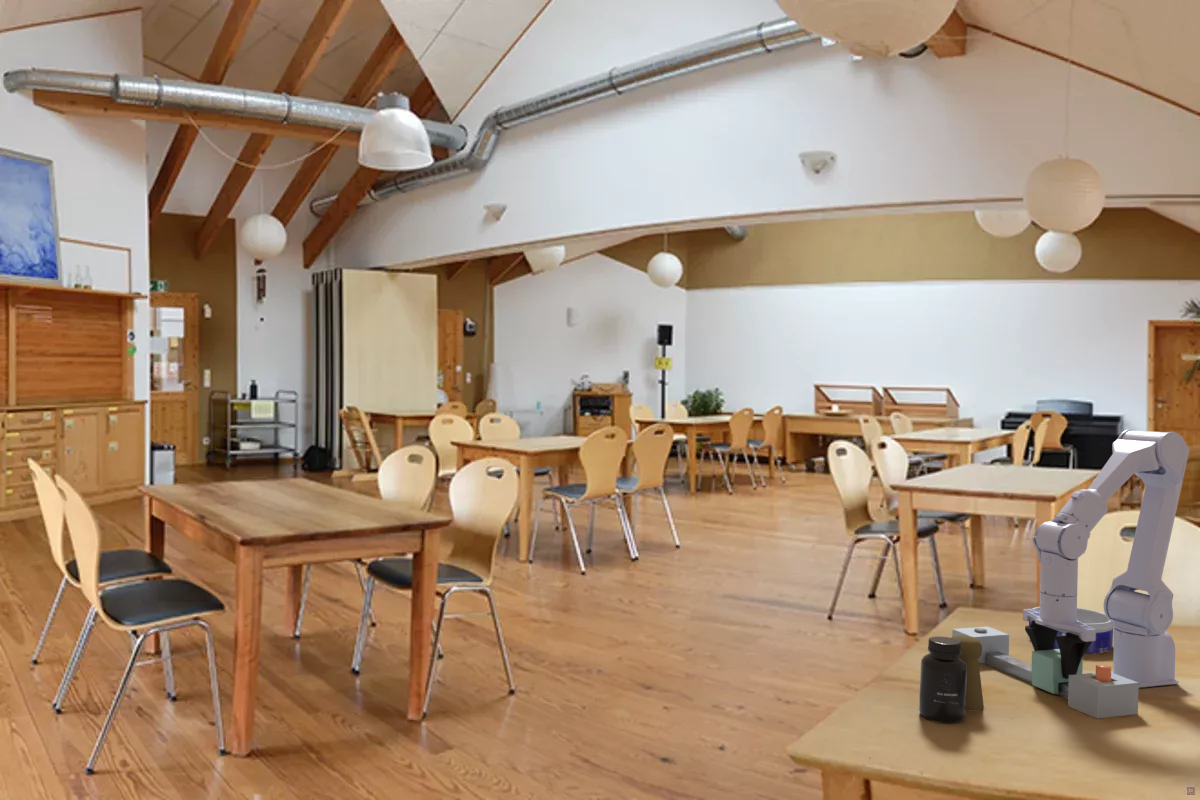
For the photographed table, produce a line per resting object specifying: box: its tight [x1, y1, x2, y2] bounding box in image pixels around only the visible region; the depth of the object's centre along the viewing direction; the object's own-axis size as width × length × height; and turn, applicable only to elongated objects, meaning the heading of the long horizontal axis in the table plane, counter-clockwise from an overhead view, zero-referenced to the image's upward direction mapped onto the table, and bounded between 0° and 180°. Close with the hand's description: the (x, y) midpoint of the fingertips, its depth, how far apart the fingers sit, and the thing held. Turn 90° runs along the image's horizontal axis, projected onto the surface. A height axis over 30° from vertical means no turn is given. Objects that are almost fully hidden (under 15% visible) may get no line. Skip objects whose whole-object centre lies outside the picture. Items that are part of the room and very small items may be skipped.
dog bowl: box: [1028, 606, 1114, 654], centre depth 193 cm, size 15×15×6 cm
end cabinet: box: [1067, 672, 1140, 719], centre depth 153 cm, size 8×6×5 cm
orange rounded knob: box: [1095, 663, 1112, 682], centre depth 153 cm, size 2×2×4 cm
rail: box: [985, 652, 1069, 700], centre depth 168 cm, size 3×22×2 cm, turn 17°
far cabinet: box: [951, 625, 1010, 664], centre depth 182 cm, size 8×6×5 cm
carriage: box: [1031, 649, 1084, 695], centre depth 163 cm, size 6×5×6 cm
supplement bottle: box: [918, 636, 967, 724], centre depth 149 cm, size 7×7×12 cm
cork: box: [950, 635, 985, 712], centre depth 155 cm, size 6×6×11 cm
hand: (1056, 672), depth 163 cm, fingers closed on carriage, 5 cm apart
